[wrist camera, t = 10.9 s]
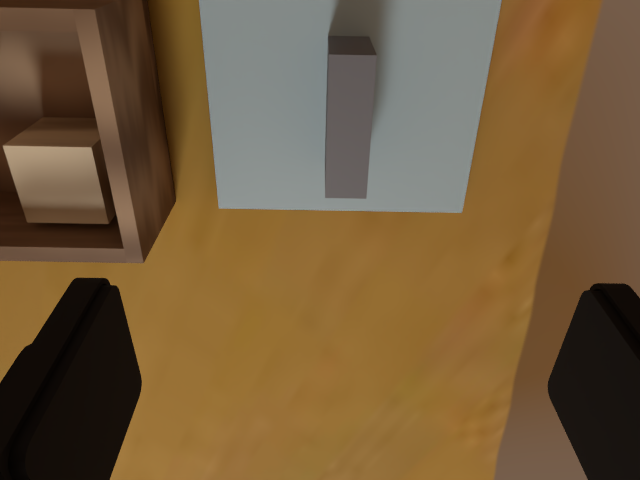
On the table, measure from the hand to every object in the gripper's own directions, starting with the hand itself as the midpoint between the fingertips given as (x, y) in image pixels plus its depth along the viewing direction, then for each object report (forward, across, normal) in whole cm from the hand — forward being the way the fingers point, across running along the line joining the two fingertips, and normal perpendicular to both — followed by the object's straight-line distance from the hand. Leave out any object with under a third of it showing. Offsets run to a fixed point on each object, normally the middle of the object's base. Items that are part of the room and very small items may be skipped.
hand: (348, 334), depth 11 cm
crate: (+25, +19, +4) cm, 32 cm away
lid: (+26, -1, +3) cm, 26 cm away
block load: (+24, +16, +7) cm, 30 cm away
